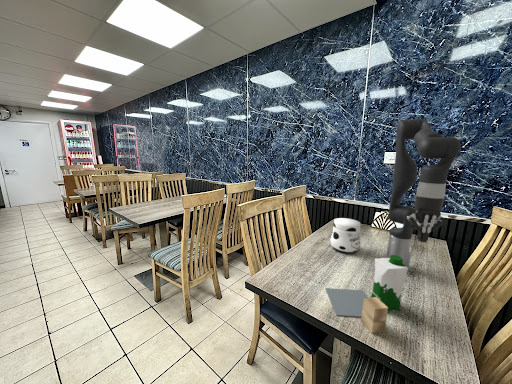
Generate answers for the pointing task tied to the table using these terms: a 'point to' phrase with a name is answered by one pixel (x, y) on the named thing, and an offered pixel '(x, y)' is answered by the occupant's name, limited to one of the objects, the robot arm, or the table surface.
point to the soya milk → (389, 281)
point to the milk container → (346, 235)
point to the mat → (347, 301)
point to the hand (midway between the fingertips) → (421, 241)
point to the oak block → (374, 314)
